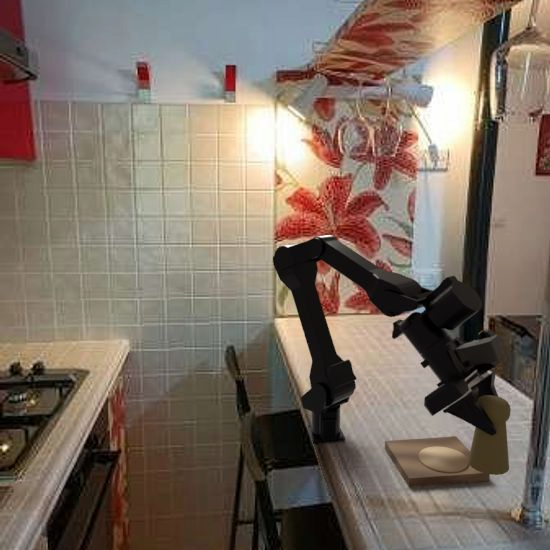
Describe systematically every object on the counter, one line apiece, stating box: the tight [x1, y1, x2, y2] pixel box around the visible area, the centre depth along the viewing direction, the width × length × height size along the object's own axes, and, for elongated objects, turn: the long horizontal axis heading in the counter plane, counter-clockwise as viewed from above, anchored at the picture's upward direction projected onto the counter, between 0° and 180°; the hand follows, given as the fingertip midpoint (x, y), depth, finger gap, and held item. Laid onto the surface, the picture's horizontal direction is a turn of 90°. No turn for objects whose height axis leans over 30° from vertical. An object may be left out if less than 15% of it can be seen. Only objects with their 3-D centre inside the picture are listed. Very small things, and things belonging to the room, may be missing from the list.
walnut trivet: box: [384, 436, 491, 488], centre depth 97 cm, size 13×14×2 cm
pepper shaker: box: [468, 395, 512, 476], centre depth 84 cm, size 6×6×11 cm
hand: (500, 427), depth 83 cm, fingers closed on pepper shaker, 5 cm apart
